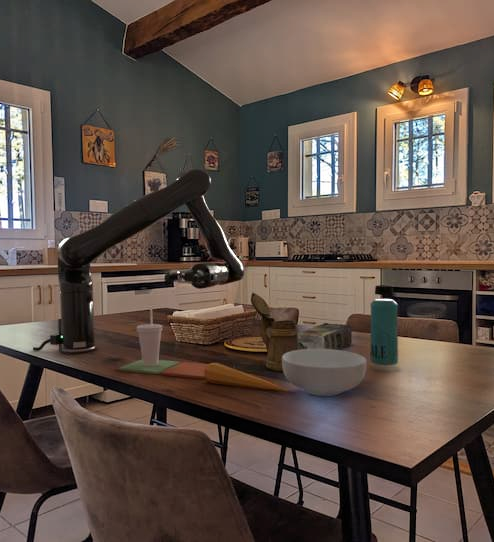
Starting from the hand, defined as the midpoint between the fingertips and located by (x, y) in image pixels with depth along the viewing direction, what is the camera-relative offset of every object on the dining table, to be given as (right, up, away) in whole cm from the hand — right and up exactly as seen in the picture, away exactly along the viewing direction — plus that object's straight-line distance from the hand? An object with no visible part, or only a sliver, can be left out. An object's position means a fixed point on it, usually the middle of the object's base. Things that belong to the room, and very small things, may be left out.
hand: (179, 278), depth 140 cm
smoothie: (-6, -21, -13) cm, 26 cm away
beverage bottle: (+51, -21, -19) cm, 58 cm away
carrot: (+17, -23, -32) cm, 43 cm away
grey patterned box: (+41, -20, +6) cm, 46 cm away
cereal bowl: (+33, -23, -36) cm, 54 cm away
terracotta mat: (+5, -22, -18) cm, 29 cm away
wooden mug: (+25, -22, -14) cm, 36 cm away
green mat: (-6, -22, -13) cm, 26 cm away
